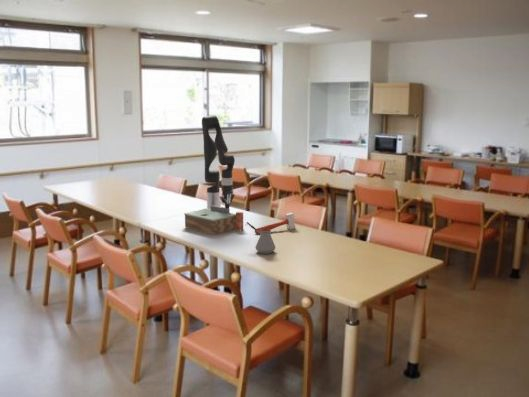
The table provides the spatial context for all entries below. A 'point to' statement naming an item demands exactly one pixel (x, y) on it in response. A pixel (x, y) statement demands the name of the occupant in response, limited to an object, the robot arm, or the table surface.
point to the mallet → (281, 223)
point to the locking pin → (239, 221)
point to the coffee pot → (264, 241)
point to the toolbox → (210, 225)
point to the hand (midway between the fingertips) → (227, 208)
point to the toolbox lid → (212, 213)
